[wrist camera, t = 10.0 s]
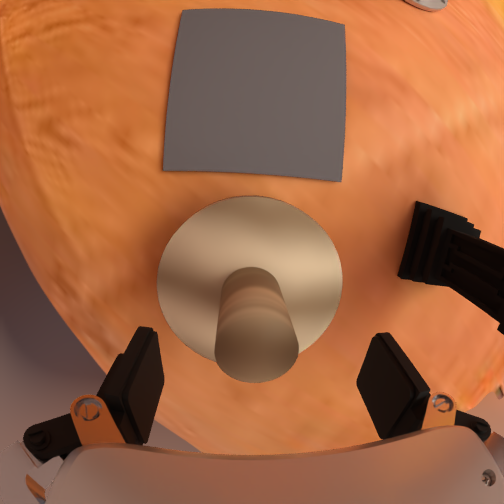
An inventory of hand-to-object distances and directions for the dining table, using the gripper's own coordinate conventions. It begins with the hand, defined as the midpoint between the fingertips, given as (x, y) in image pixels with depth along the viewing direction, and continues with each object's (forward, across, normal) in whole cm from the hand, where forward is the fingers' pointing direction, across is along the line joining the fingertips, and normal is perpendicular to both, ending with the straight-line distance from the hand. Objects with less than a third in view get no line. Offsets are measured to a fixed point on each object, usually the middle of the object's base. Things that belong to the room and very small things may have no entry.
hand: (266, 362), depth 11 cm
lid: (+9, 0, +1) cm, 9 cm away
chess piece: (+15, -20, -2) cm, 24 cm away
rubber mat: (+15, 0, -15) cm, 21 cm away
